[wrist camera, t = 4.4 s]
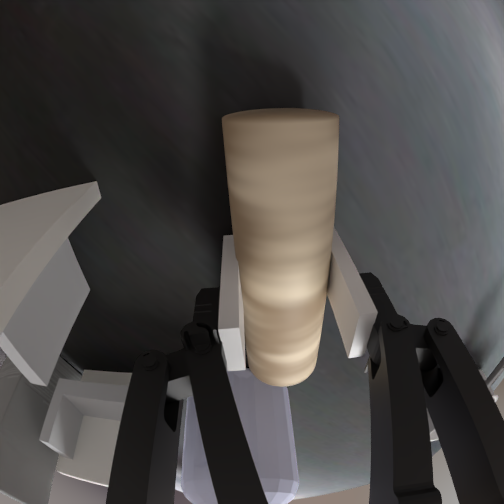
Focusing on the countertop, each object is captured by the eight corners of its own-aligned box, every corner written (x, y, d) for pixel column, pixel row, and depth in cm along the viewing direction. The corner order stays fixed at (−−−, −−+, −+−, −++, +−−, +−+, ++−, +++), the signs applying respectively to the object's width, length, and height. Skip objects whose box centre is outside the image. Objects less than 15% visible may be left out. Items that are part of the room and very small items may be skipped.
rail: (288, 323, 22) (330, 362, 19) (235, 351, 20) (273, 399, 17) (289, 105, 14) (363, 118, 10) (202, 117, 12) (265, 129, 8)
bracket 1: (-6, 206, 14) (-106, 317, 5) (96, 181, 14) (-32, 337, 5) (18, 261, 17) (-58, 380, 8) (118, 251, 17) (45, 419, 8)
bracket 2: (173, 379, 24) (160, 496, 15) (88, 375, 24) (62, 474, 15) (158, 349, 22) (136, 483, 13) (67, 346, 22) (30, 454, 13)
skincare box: (48, 384, 26) (15, 499, 13) (4, 345, 23) (-44, 465, 9) (88, 376, 25) (55, 520, 11) (36, 330, 21) (-22, 485, 8)
